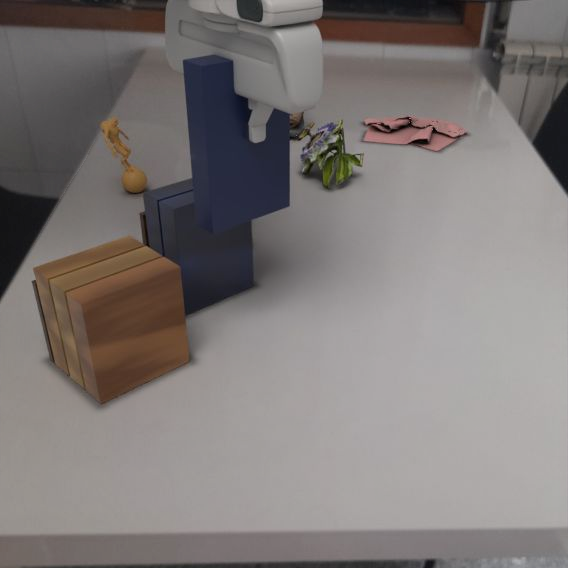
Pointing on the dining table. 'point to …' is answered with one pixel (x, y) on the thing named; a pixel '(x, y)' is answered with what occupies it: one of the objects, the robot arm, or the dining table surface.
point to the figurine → (131, 176)
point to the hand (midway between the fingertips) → (241, 134)
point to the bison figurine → (296, 124)
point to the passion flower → (326, 143)
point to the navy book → (232, 150)
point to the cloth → (413, 132)
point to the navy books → (197, 246)
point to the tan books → (113, 316)
